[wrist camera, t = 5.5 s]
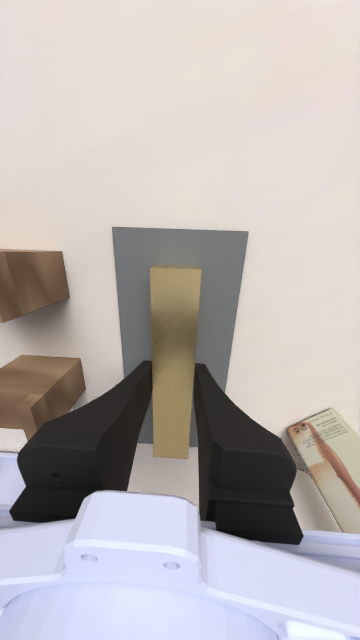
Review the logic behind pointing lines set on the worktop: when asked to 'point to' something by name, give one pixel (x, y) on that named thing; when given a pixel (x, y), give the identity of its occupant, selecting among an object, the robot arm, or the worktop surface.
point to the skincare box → (332, 464)
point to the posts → (34, 371)
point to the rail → (173, 354)
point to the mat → (214, 303)
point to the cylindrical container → (310, 505)
